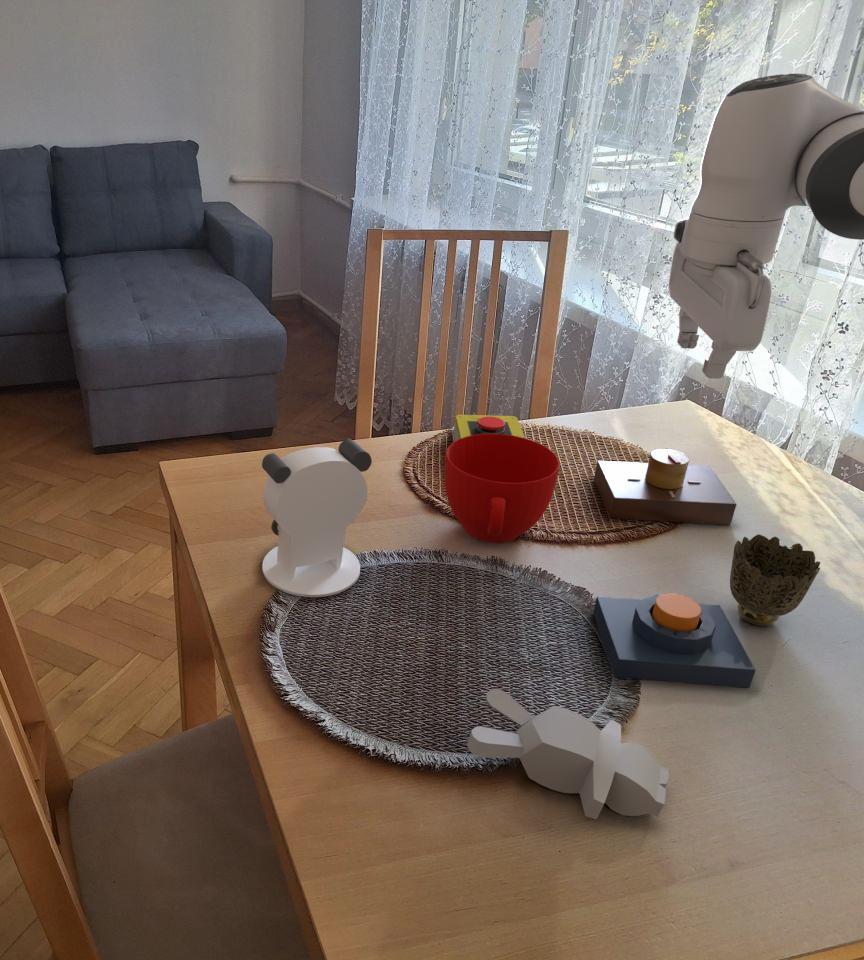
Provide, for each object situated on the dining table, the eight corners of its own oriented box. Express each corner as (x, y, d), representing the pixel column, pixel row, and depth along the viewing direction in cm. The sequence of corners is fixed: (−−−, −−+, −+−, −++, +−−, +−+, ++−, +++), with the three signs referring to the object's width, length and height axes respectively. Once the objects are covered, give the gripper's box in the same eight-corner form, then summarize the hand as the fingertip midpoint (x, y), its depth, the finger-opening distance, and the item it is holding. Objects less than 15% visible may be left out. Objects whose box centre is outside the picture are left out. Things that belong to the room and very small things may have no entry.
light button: (690, 608, 86) (694, 594, 85) (702, 634, 82) (707, 619, 81) (647, 605, 86) (651, 591, 85) (658, 630, 83) (662, 616, 82)
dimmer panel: (704, 485, 114) (710, 464, 112) (730, 525, 105) (737, 502, 104) (593, 480, 116) (597, 459, 114) (610, 518, 107) (614, 496, 106)
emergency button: (517, 404, 128) (535, 449, 115) (513, 430, 130) (531, 478, 117) (453, 402, 129) (464, 447, 116) (450, 429, 131) (461, 475, 118)
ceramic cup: (430, 567, 99) (438, 493, 94) (442, 496, 113) (449, 428, 109) (549, 584, 96) (563, 507, 91) (546, 509, 110) (558, 438, 105)
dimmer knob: (638, 473, 111) (645, 447, 109) (673, 472, 111) (679, 445, 109) (654, 489, 107) (660, 463, 105) (689, 488, 107) (696, 461, 105)
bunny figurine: (667, 817, 63) (469, 731, 69) (645, 859, 66) (456, 773, 72) (679, 733, 71) (498, 661, 76) (658, 774, 73) (485, 702, 79)
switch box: (714, 621, 89) (724, 590, 87) (749, 688, 81) (761, 655, 79) (593, 613, 91) (599, 582, 89) (614, 677, 82) (622, 644, 81)
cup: (704, 618, 90) (723, 555, 86) (729, 587, 94) (749, 526, 90) (784, 650, 85) (808, 585, 81) (806, 616, 89) (830, 553, 86)
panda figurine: (337, 532, 107) (341, 423, 99) (383, 582, 97) (391, 465, 90) (248, 553, 103) (245, 441, 96) (286, 606, 94) (286, 487, 86)
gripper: (801, 266, 83) (762, 397, 90) (728, 220, 101) (699, 332, 108) (731, 265, 84) (697, 395, 91) (671, 219, 102) (646, 331, 108)
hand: (698, 360), depth 99 cm, fingers open, 8 cm apart
